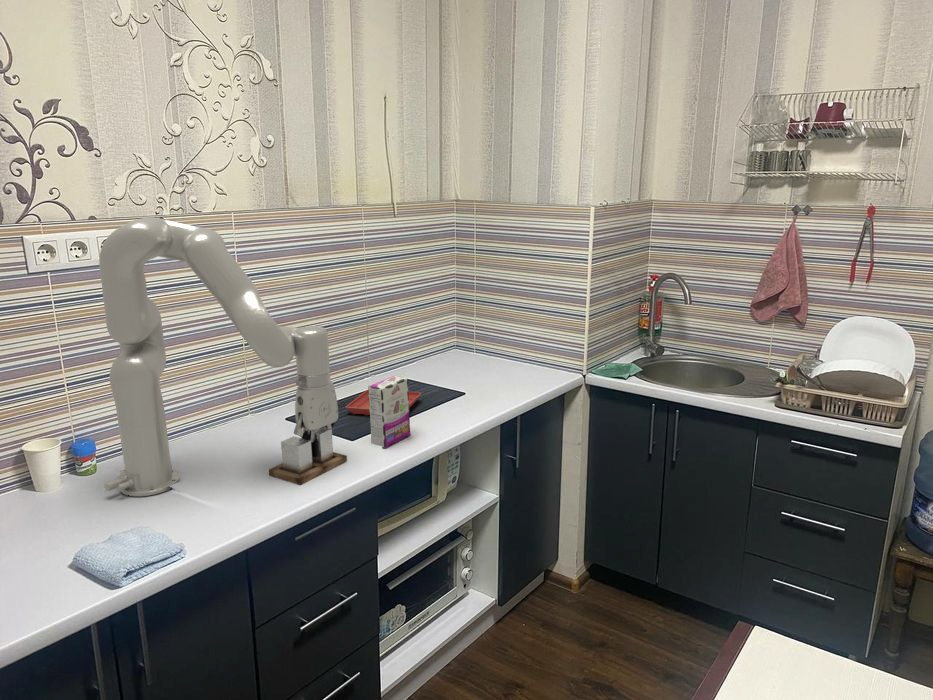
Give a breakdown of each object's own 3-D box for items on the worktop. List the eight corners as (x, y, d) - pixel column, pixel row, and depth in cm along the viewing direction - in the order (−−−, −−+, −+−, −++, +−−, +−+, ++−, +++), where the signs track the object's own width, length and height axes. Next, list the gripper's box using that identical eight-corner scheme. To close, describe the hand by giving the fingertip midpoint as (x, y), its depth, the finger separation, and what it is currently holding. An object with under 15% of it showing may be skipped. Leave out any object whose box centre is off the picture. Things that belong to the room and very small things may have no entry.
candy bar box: (396, 432, 188) (394, 374, 184) (410, 435, 185) (409, 377, 181) (369, 445, 178) (367, 385, 174) (384, 449, 176) (382, 388, 172)
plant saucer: (344, 417, 201) (344, 406, 200) (368, 398, 218) (367, 388, 217) (403, 421, 197) (402, 410, 196) (422, 402, 214) (422, 392, 213)
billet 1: (300, 479, 156) (298, 446, 154) (283, 474, 159) (280, 441, 157) (313, 473, 160) (310, 440, 158) (296, 468, 162) (293, 436, 160)
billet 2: (321, 465, 162) (319, 434, 160) (304, 461, 165) (302, 429, 163) (333, 460, 165) (331, 429, 163) (316, 455, 168) (314, 424, 166)
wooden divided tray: (300, 489, 153) (299, 478, 153) (269, 479, 159) (268, 469, 158) (347, 465, 166) (346, 455, 166) (317, 456, 171) (316, 447, 171)
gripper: (299, 391, 151) (304, 468, 156) (350, 373, 165) (353, 444, 169) (275, 386, 155) (281, 461, 159) (327, 368, 169) (331, 438, 173)
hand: (318, 451), depth 164 cm, fingers closed on billet 2, 4 cm apart
